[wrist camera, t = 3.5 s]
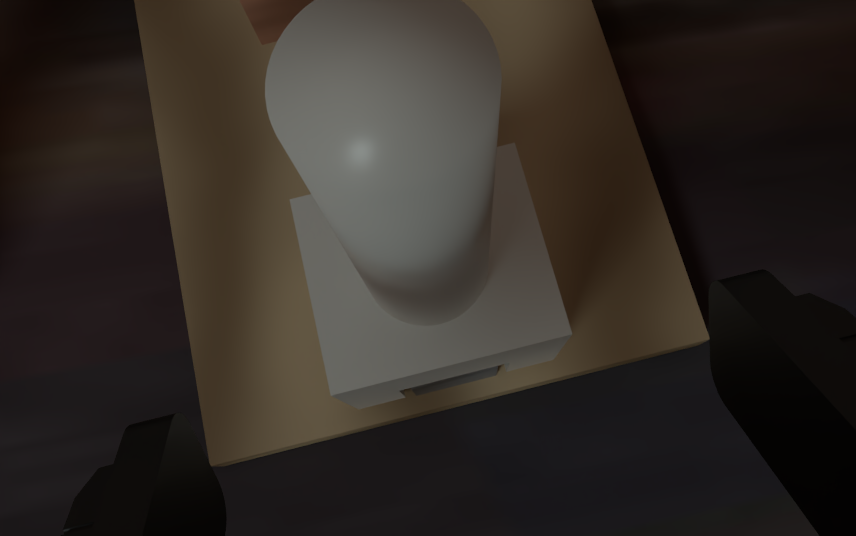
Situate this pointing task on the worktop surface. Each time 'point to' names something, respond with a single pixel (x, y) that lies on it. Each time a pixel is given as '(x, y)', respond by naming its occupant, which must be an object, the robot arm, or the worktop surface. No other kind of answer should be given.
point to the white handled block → (409, 198)
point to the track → (280, 181)
